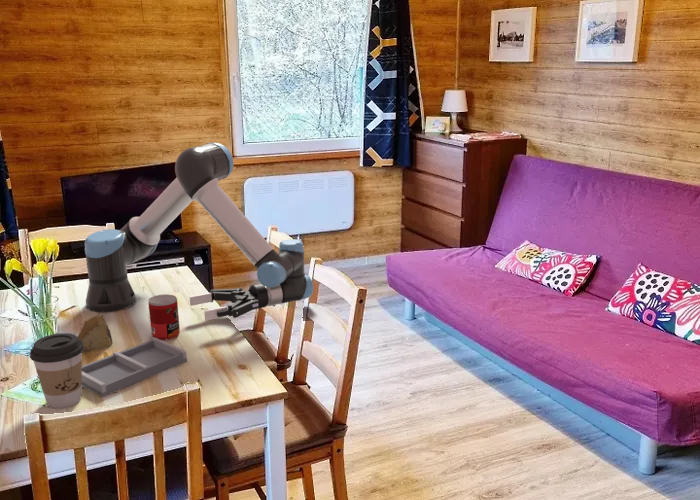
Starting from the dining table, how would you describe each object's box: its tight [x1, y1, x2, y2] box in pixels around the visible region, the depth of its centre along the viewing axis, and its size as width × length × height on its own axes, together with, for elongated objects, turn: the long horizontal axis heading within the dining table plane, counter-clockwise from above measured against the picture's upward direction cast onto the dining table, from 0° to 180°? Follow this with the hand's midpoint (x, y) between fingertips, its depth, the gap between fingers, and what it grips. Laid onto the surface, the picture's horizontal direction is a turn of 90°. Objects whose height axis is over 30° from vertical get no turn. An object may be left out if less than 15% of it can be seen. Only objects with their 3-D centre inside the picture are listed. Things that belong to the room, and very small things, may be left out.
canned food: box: [147, 293, 180, 341], centre depth 185 cm, size 8×8×11 cm
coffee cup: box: [29, 332, 84, 410], centre depth 148 cm, size 11×11×15 cm
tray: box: [82, 337, 188, 398], centre depth 165 cm, size 14×24×3 cm, turn 141°
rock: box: [76, 315, 113, 354], centre depth 177 cm, size 11×9×10 cm
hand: (197, 308), depth 190 cm, fingers open, 13 cm apart
